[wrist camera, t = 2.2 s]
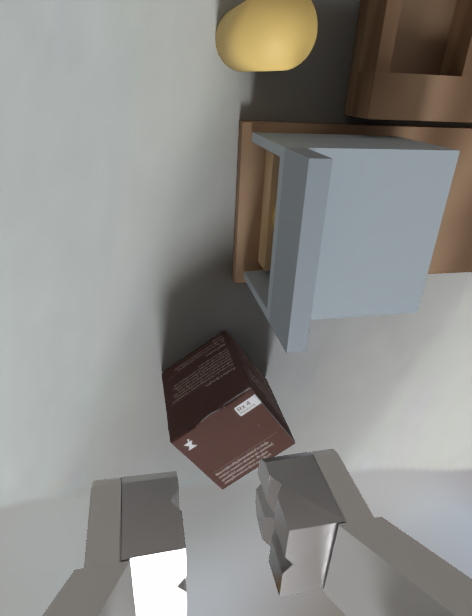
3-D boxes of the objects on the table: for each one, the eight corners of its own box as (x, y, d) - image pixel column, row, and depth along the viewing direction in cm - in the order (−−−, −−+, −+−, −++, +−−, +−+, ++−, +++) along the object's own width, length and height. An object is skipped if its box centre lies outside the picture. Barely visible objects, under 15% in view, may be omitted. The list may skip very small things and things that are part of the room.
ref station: (575, 130, 31) (663, 141, 26) (526, 264, 35) (591, 296, 30) (239, 120, 26) (266, 131, 21) (232, 278, 30) (253, 319, 25)
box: (203, 418, 36) (220, 492, 29) (158, 371, 33) (166, 443, 26) (267, 377, 35) (298, 444, 29) (227, 326, 32) (252, 388, 26)
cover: (395, 135, 27) (505, 161, 19) (368, 272, 31) (449, 339, 23) (252, 132, 25) (309, 158, 17) (243, 278, 29) (286, 353, 21)
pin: (271, 9, 23) (322, -14, 17) (267, 73, 25) (312, 72, 19) (216, 4, 23) (248, -21, 17) (214, 70, 24) (244, 68, 18)
